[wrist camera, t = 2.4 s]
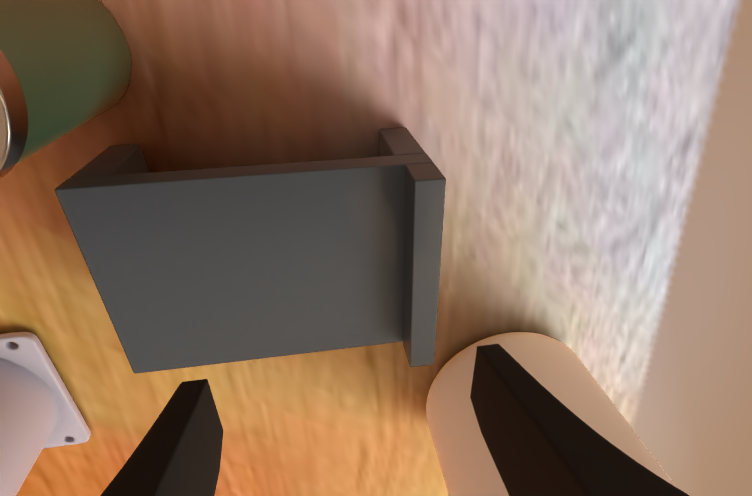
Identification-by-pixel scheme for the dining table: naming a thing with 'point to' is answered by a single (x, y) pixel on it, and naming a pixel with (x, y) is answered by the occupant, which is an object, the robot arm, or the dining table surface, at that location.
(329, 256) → the grey channel-top block
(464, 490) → the cup
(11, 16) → the canister
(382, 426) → the dining table surface
